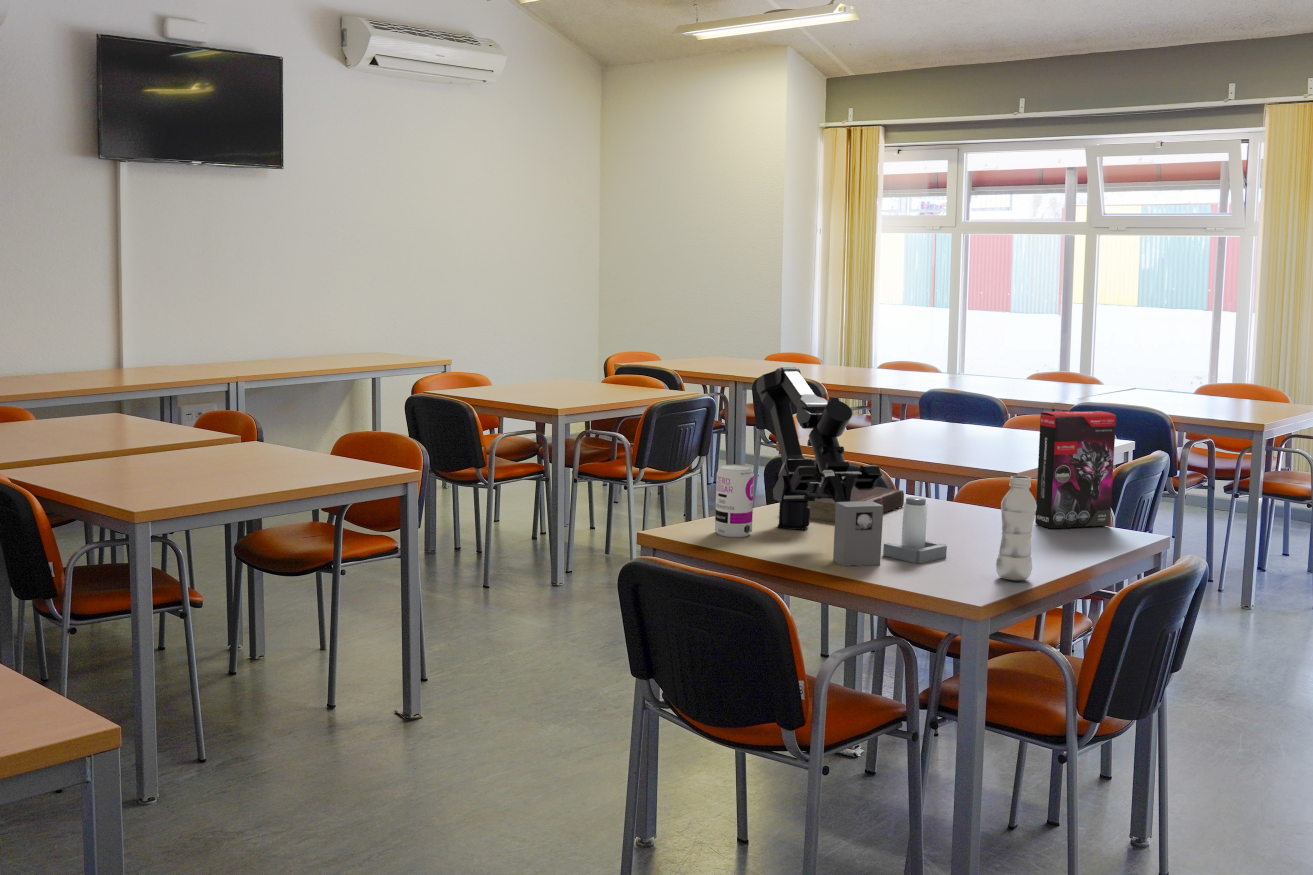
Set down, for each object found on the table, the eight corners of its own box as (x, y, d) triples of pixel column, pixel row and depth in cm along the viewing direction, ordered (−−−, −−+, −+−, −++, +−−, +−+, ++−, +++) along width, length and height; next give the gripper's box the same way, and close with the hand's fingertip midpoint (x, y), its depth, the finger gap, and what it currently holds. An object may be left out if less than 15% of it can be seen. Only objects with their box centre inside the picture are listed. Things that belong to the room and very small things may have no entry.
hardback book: (854, 526, 266) (855, 506, 265) (783, 515, 277) (784, 495, 276) (903, 508, 290) (904, 489, 289) (836, 499, 300) (837, 480, 299)
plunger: (838, 522, 233) (839, 504, 233) (854, 521, 234) (855, 504, 234) (856, 531, 225) (857, 513, 224) (873, 530, 226) (874, 512, 225)
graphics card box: (1048, 530, 266) (1057, 414, 262) (1031, 523, 272) (1039, 410, 269) (1110, 527, 271) (1120, 413, 267) (1091, 521, 277) (1100, 410, 274)
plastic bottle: (989, 575, 222) (996, 474, 219) (1023, 575, 223) (1030, 474, 220) (1002, 583, 216) (1009, 479, 213) (1037, 584, 216) (1044, 480, 213)
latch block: (833, 560, 231) (835, 502, 229) (869, 558, 233) (872, 501, 231) (843, 566, 226) (846, 506, 224) (880, 564, 228) (883, 505, 226)
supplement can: (755, 531, 255) (758, 465, 253) (746, 539, 248) (748, 471, 246) (720, 528, 258) (723, 463, 256) (710, 535, 250) (712, 468, 248)
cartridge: (900, 557, 235) (903, 500, 233) (900, 551, 240) (904, 495, 238) (924, 559, 234) (927, 501, 232) (924, 553, 239) (927, 497, 237)
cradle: (883, 555, 236) (883, 543, 236) (913, 548, 243) (914, 537, 242) (917, 563, 230) (918, 551, 229) (948, 556, 236) (948, 545, 236)
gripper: (854, 472, 251) (874, 531, 242) (775, 473, 247) (792, 534, 237) (872, 441, 243) (893, 502, 234) (790, 442, 238) (809, 504, 229)
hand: (846, 511), depth 234 cm, fingers closed
